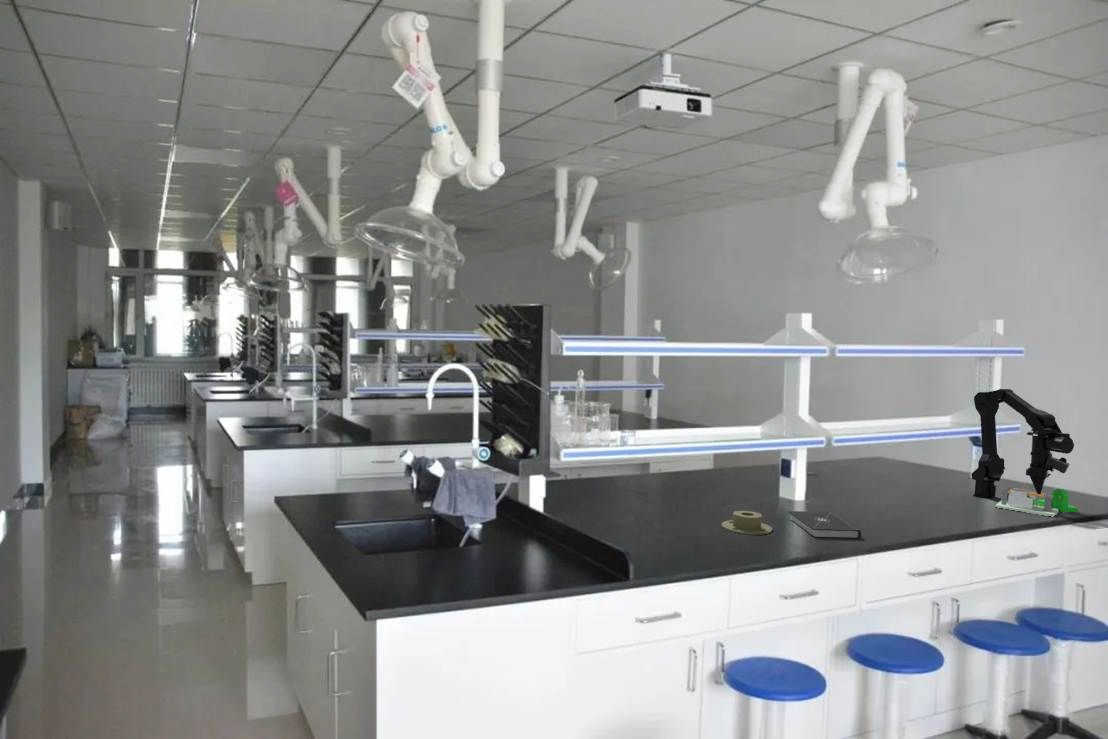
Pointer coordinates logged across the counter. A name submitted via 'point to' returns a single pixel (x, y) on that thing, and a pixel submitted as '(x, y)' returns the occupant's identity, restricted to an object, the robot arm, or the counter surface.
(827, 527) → the book
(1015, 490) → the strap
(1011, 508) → the board
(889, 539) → the counter surface
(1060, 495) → the mechanical part
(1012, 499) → the electronic module
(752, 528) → the flange
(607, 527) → the counter surface
